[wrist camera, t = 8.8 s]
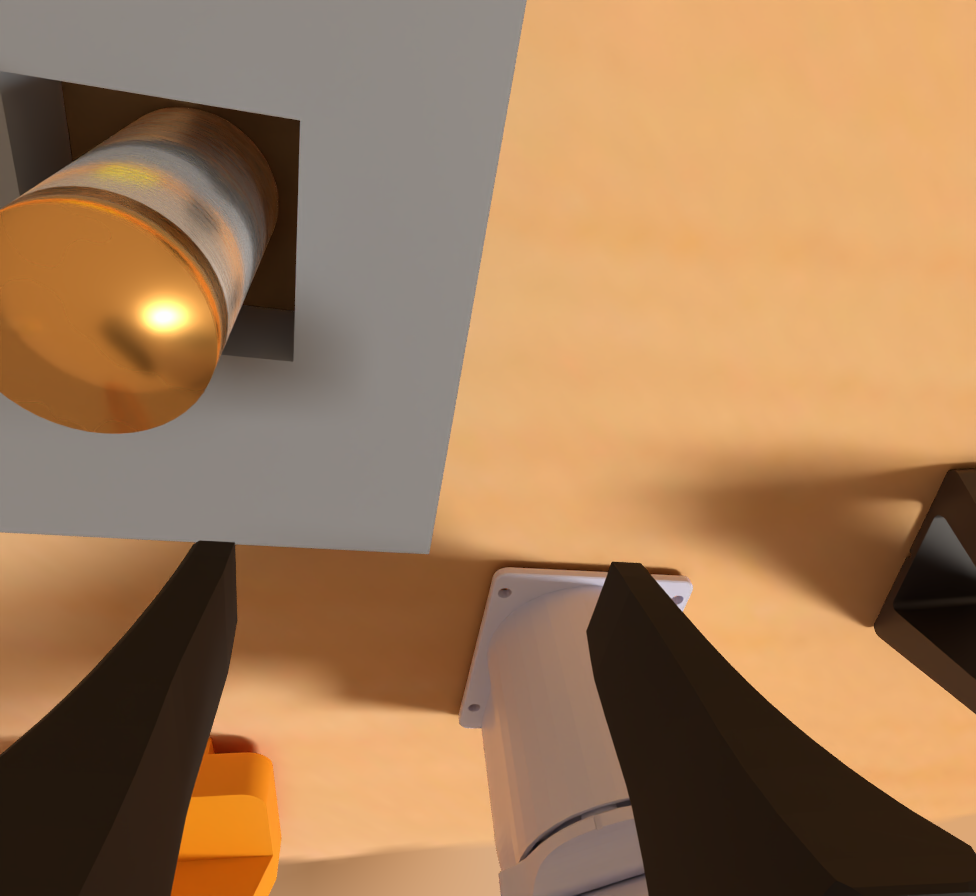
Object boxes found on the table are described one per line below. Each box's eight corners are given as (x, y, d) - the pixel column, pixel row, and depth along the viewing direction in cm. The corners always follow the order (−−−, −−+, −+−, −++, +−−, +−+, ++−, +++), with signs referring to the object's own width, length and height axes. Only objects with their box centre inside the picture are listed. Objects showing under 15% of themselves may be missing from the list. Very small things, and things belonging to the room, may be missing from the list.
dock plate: (424, 493, 24) (429, 554, 22) (-33, 462, 21) (-87, 527, 19) (537, -200, 14) (566, -232, 12) (-282, -419, 12) (-461, -519, 9)
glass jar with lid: (278, 277, 19) (222, 441, 13) (121, 260, 19) (-23, 424, 12) (278, 120, 17) (210, 223, 11) (100, 94, 16) (-90, 186, 10)
